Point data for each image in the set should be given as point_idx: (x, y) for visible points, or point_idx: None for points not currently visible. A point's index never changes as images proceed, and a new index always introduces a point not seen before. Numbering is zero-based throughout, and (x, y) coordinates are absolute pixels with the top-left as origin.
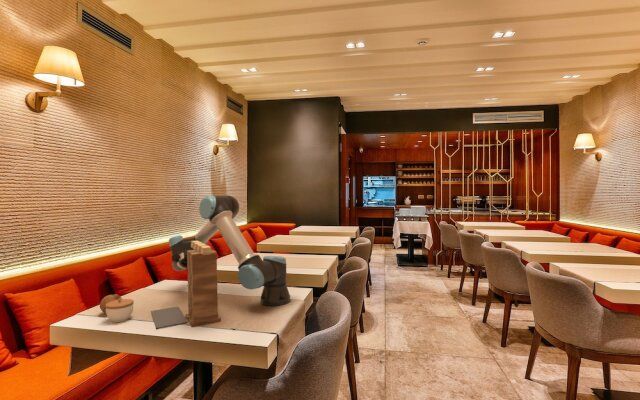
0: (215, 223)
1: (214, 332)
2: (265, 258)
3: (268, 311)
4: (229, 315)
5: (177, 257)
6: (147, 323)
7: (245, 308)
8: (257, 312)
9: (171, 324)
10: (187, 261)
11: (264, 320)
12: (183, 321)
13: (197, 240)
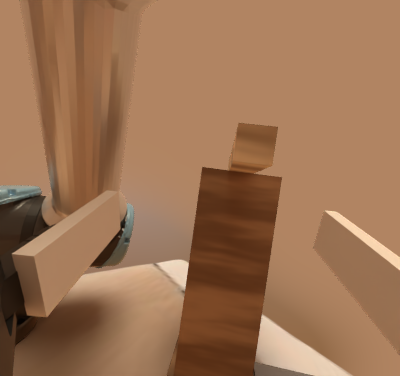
0: (139, 12)
1: None
2: (35, 192)
3: (81, 301)
4: (149, 336)
5: None
6: None
7: (81, 347)
8: (97, 310)
9: (294, 374)
10: (275, 214)
11: (128, 284)
12: (263, 370)
13: (238, 124)
